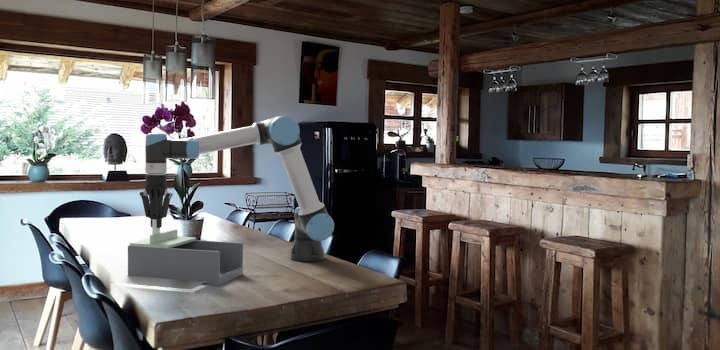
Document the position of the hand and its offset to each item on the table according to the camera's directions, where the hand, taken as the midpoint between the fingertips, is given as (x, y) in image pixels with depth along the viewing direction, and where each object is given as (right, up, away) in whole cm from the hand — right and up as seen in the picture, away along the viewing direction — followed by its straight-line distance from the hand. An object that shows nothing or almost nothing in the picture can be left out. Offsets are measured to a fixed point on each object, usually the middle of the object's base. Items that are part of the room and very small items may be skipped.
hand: (156, 236), depth 224 cm
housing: (+12, -15, -2) cm, 19 cm away
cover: (+3, -3, -1) cm, 4 cm away
